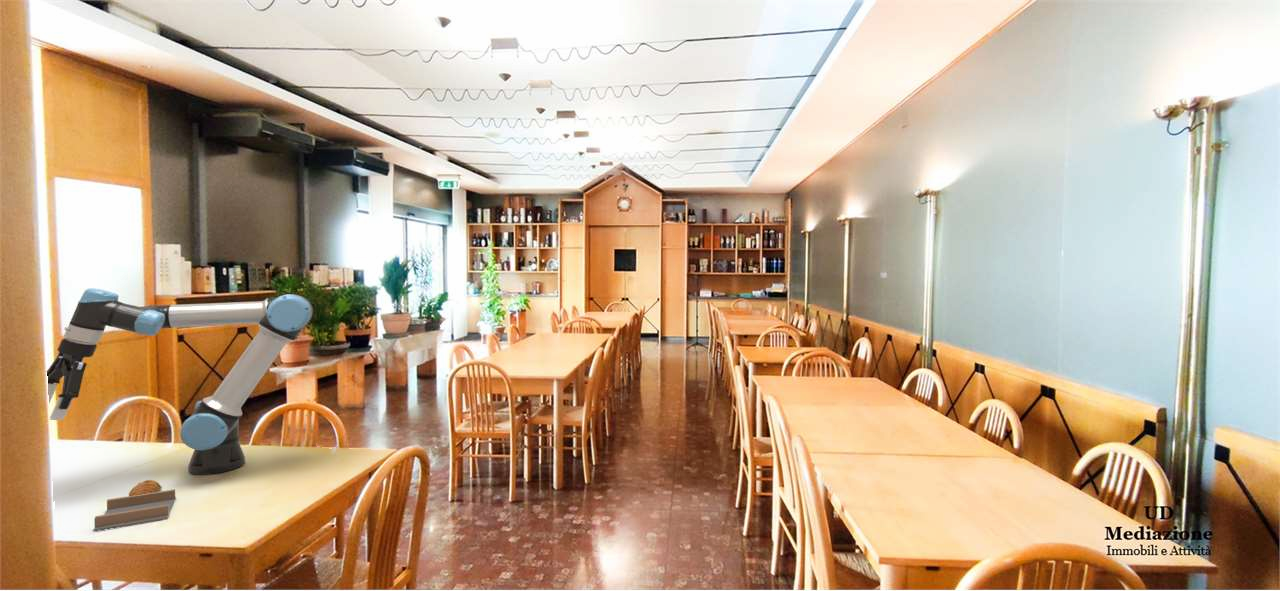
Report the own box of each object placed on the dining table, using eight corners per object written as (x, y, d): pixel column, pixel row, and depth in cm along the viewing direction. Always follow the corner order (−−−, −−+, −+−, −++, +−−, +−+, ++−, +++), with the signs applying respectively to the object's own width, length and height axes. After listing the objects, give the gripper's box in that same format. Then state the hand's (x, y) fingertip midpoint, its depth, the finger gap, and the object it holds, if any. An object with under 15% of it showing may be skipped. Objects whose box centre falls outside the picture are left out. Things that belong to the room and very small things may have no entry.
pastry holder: (175, 498, 158) (175, 487, 158) (167, 519, 144) (167, 507, 144) (109, 509, 150) (109, 497, 150) (93, 532, 136) (93, 519, 136)
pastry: (155, 500, 157) (155, 487, 157) (123, 505, 153) (123, 491, 153) (162, 490, 165) (162, 477, 165) (132, 494, 161) (131, 481, 161)
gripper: (49, 328, 162) (17, 398, 159) (78, 349, 150) (44, 425, 147) (82, 333, 169) (52, 401, 166) (113, 353, 156) (81, 426, 153)
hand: (48, 412), depth 156 cm, fingers open, 13 cm apart
